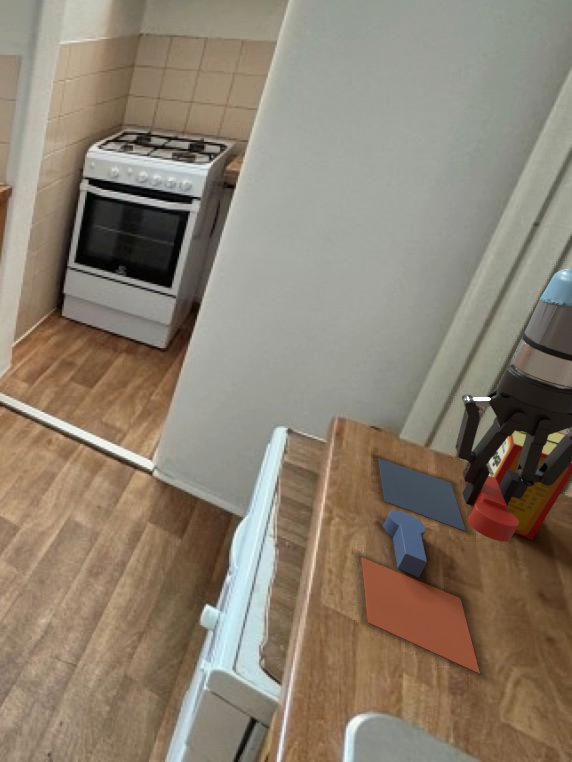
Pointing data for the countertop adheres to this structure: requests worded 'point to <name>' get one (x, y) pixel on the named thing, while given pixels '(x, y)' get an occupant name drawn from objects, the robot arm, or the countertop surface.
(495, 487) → the red keyhole-shaped block
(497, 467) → the baking soda box
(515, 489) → the robot arm
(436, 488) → the slate mat
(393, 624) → the terracotta mat
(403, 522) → the blue t-shaped piece
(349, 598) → the countertop surface
